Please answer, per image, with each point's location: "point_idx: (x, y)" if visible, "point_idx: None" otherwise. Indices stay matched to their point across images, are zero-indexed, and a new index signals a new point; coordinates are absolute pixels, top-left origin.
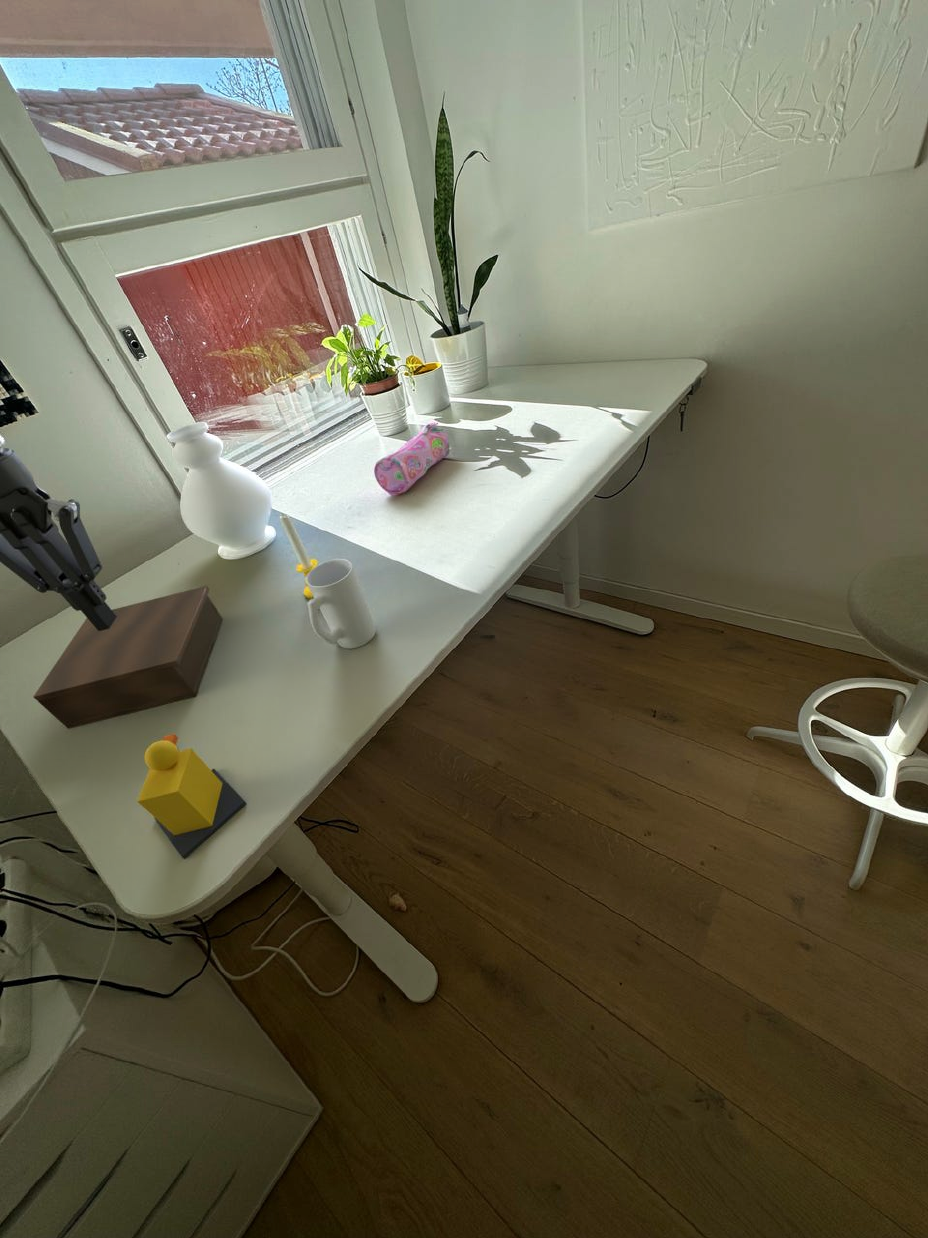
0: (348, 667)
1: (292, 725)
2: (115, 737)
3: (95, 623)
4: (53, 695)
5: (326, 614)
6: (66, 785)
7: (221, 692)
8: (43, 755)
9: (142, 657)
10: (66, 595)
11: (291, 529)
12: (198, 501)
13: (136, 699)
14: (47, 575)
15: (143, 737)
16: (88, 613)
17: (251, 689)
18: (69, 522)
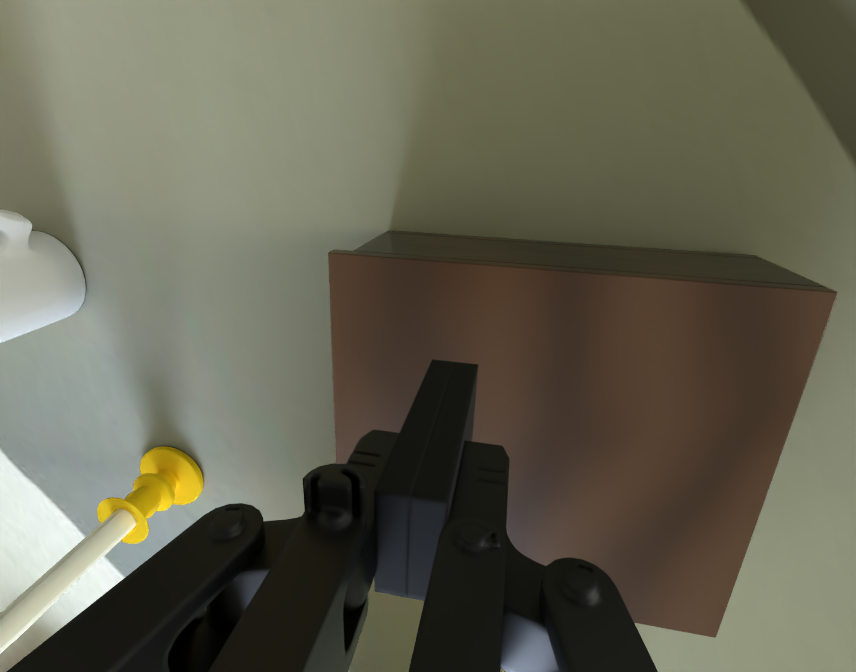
0: (38, 172)
1: (114, 18)
2: (591, 159)
3: (460, 380)
4: (759, 283)
5: None
6: (707, 5)
7: (324, 216)
8: (818, 170)
9: (451, 323)
10: (484, 512)
11: (10, 605)
12: None
13: (524, 247)
14: (450, 649)
15: (504, 126)
16: (447, 408)
17: (248, 194)
18: None
